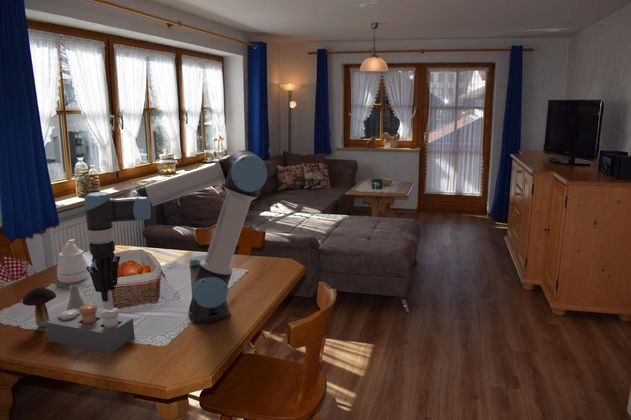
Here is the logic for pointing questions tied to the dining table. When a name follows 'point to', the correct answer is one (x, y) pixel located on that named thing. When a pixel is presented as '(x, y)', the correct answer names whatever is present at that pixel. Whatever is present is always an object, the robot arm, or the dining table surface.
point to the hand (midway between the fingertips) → (108, 308)
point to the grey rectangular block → (90, 333)
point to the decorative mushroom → (39, 303)
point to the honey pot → (72, 264)
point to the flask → (75, 298)
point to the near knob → (110, 317)
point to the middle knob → (88, 313)
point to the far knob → (68, 315)
